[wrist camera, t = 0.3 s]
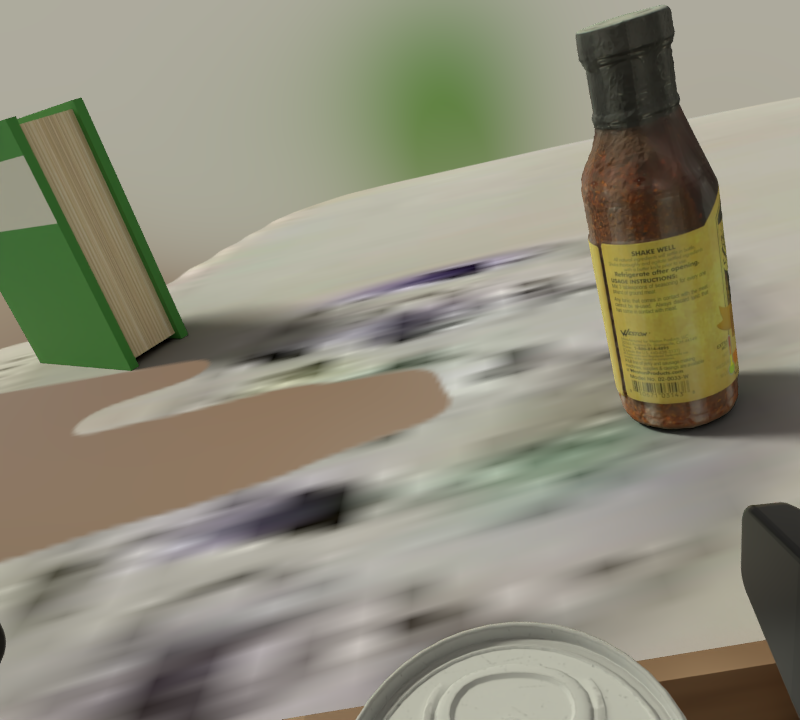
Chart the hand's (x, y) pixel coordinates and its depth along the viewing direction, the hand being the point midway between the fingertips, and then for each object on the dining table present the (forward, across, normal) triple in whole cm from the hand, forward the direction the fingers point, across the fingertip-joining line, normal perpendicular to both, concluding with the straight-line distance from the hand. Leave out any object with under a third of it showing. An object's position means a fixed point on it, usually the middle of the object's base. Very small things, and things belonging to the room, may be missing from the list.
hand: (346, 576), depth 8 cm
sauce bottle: (+29, -12, +13) cm, 34 cm away
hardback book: (+62, +37, +16) cm, 74 cm away
